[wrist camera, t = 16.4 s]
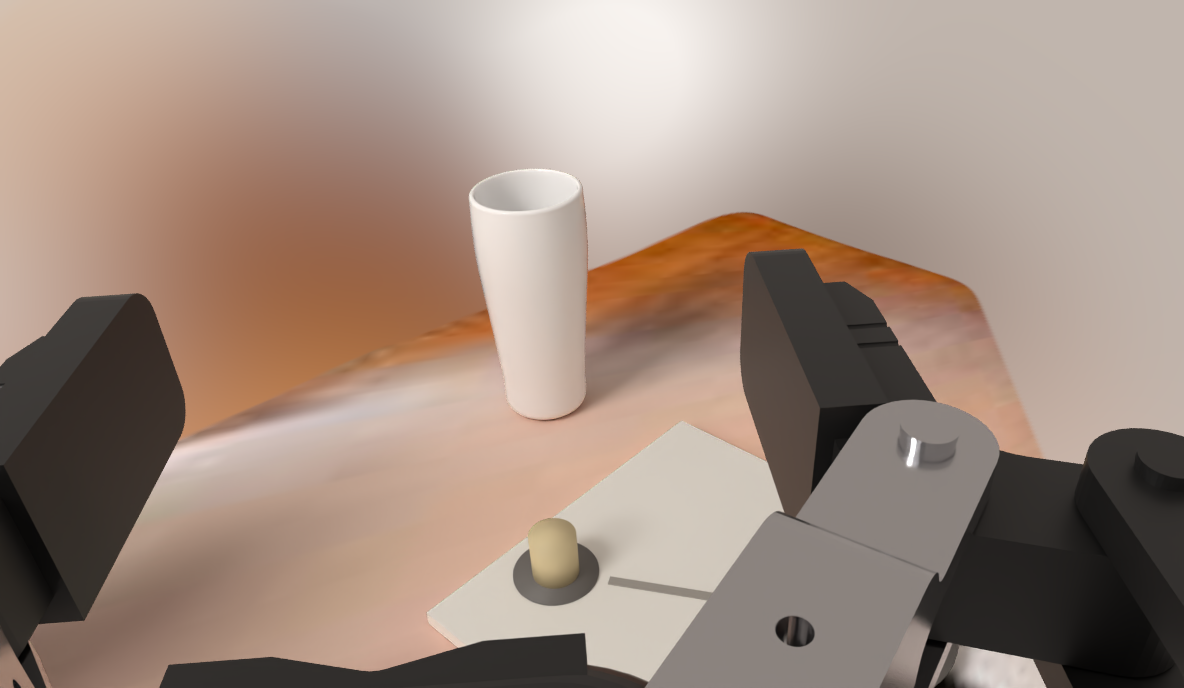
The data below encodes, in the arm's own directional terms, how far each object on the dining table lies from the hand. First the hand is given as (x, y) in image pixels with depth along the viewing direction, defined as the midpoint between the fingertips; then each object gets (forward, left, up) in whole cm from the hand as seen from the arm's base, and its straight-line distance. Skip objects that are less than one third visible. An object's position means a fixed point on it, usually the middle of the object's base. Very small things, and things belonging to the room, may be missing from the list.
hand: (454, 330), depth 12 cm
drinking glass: (-29, +26, -29) cm, 49 cm away
